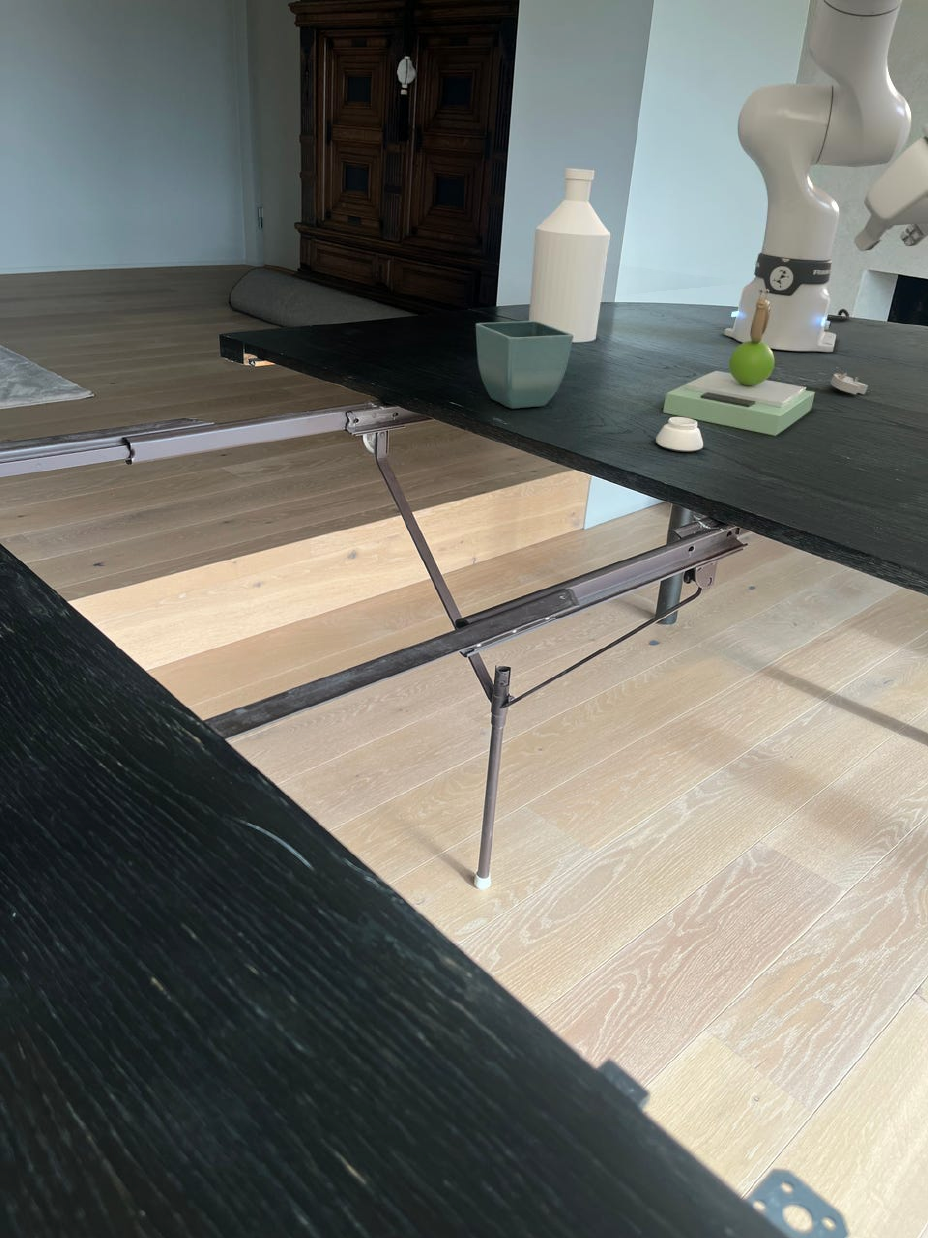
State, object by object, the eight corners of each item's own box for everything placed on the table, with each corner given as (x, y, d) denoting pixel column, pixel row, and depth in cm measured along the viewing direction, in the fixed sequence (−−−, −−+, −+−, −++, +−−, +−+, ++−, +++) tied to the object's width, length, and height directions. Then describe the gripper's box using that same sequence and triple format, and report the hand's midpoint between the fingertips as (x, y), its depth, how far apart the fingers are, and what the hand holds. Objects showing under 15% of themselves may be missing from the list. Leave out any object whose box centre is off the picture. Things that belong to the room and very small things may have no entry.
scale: (707, 390, 130) (711, 368, 129) (810, 410, 124) (816, 387, 122) (663, 412, 118) (667, 388, 116) (775, 435, 111) (781, 410, 110)
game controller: (873, 397, 133) (878, 378, 132) (796, 396, 131) (801, 377, 130) (852, 387, 138) (856, 368, 136) (778, 385, 136) (782, 367, 134)
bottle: (528, 325, 165) (544, 165, 153) (597, 332, 164) (618, 171, 152) (523, 338, 154) (538, 167, 143) (596, 345, 153) (618, 173, 142)
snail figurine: (721, 387, 118) (740, 286, 113) (728, 377, 124) (747, 280, 118) (766, 394, 117) (787, 291, 111) (771, 383, 122) (792, 285, 117)
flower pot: (503, 415, 111) (510, 336, 107) (468, 396, 118) (473, 322, 114) (567, 410, 115) (575, 334, 111) (529, 392, 122) (536, 320, 118)
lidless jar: (646, 443, 105) (679, 456, 101) (650, 417, 104) (684, 429, 100) (677, 438, 108) (711, 450, 104) (681, 412, 106) (716, 424, 103)
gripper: (1024, 117, 100) (916, 217, 111) (925, 112, 88) (816, 224, 99) (1059, 164, 99) (946, 260, 110) (964, 165, 87) (848, 272, 98)
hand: (883, 243), depth 104 cm, fingers open, 8 cm apart
